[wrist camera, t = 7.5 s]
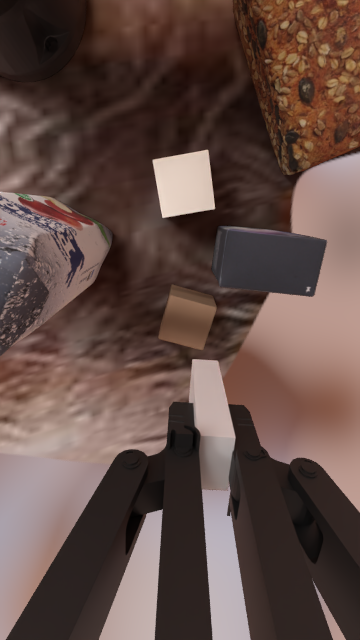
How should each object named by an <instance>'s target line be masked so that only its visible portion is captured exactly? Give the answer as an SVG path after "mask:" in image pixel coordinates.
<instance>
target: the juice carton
mask: <svg viewBox="0 0 360 640" xmlns="http://www.w3.org/2000/svg"><path fill="white" fill-rule="evenodd" d="M112 237H113V234H112V232H111V231H110V230H109V229H108V228H107V227H105V226H104V225H102V224H101V223H99V222H97V221H95V220H93V219H91V218H89V217H87V216H84V215H82V214H80V213H78V212H77V211H75V210H73V209H72V208H70V207H69V206H67V205H66V204H64V203H62V202H61V201H59V200H57V199H55V198H52V197H45V196H36V195H26V194H16V193H7V192H0V356H1V355H2V354H3V353H4V352H5V351H7V350H8V349H9V348H10V347H11V346H13V345H14V344H15V343H17V342H18V341H20V340H21V339H23V338H24V337H26V336H27V335H29V334H30V333H31V332H33V331H34V330H35V329H37V328H38V327H39V326H41V325H42V324H43V323H44V322H46V321H47V320H48V319H49V318H51V317H52V316H53V315H54V314H56V313H57V312H58V311H59V310H61V309H62V308H63V307H64V306H66V305H67V304H68V303H69V302H71V301H72V300H73V299H74V298H75V297H77V296H78V295H79V294H80V293H82V292H83V291H84V290H85V289H87V288H88V287H89V286H90V285H91V284H93V282H94V281H95V279H96V277H97V275H98V273H99V270H100V267H101V265H102V263H103V261H104V259H105V257H106V255H107V253H108V251H109V249H110V247H111V243H112Z"/></svg>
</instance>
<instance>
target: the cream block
mask: <svg viewBox="0 0 360 640" xmlns="http://www.w3.org/2000/svg"><path fill="white" fill-rule="evenodd" d="M153 165H154V171H155V177H156V183H157V189H158V195H159V200H160V206H161V212H162V218H165V217H171V216H177V215H183V214H188V213H194V212H200V211H206V210H212V209H215V203H214V195H213V186H212V178H211V169H210V161H209V153H208V150H204V151H198V152H193V153H187V154H182V155H176V156H171V157H165V158H160V159H154V160H153Z"/></svg>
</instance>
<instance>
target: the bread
mask: <svg viewBox="0 0 360 640" xmlns="http://www.w3.org/2000/svg"><path fill="white" fill-rule="evenodd" d="M233 13H234V17H235V22H236V25H237V29H238V32H239V35H240V39H241V42H242V45H243V50H244V54H245V57H246V58H247V62H248V67H249V71H250V76H251V78H252V81H253V85H254V87H255V90H256V94H257V97H258V100H259V104H260V107H261V110H262V115H263V118H264V119H265V122H266V128H267V131H268V134H269V137H270V140H271V144H272V147H273V150H274V153H275V155H276V158H277V160H278V164H279V167H280V169H281V172H282V173H283V174H284V175H286V174H288V175H292V174H295V173H297V172H300V171H304V170H306V169H309V168H312V167H314V166H316V165H319V164H320V163H323V162H325V161H327V160H329V159H332V158H334V157H337V156H339V155H342V154H344V153H347V152H349V151H351V150H353V149H355V148H358V147H360V0H233Z"/></svg>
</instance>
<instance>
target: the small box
mask: <svg viewBox="0 0 360 640" xmlns="http://www.w3.org/2000/svg"><path fill="white" fill-rule="evenodd" d="M326 244H327V240H324V239H319V238H314V237H310V236H305V235H300V234H294V233H288V232H281V231H274V230H267V229H258V228H248V227H235V226H218V228H217V234H216V241H215V248H214V255H213V262H212V272H213V273H214V275H215V277H216V279H217V281H218V283H219V286H220V287H226V288H235V289H245V290H253V291H262V292H272V293H282V294H290V295H291V294H292V295H300V296H309V297H310V296H311V297H312V296H314V295H315V290H316V286H317V282H318V278H319V274H320V269H321V265H322V261H323V257H324V253H325V248H326Z"/></svg>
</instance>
